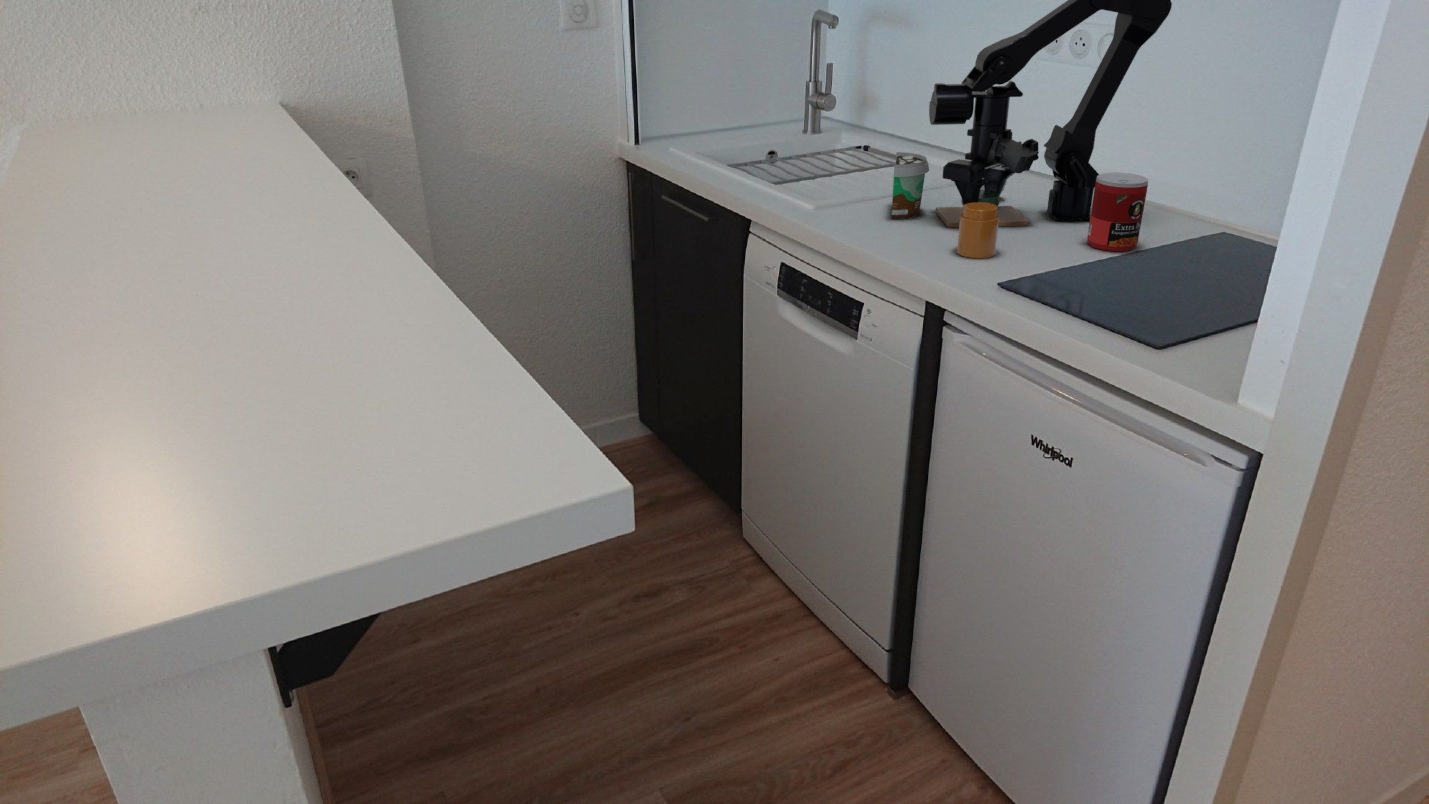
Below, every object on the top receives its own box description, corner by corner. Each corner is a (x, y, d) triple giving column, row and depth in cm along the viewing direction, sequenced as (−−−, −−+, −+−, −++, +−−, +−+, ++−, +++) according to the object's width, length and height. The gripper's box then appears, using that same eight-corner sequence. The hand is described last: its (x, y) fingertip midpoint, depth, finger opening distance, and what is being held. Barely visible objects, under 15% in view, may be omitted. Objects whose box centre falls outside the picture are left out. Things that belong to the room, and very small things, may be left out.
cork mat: (1010, 210, 177) (1011, 205, 177) (1027, 225, 167) (1028, 221, 167) (935, 211, 177) (935, 207, 177) (948, 227, 167) (948, 222, 167)
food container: (925, 222, 171) (930, 165, 167) (891, 220, 172) (894, 165, 168) (926, 205, 182) (930, 151, 177) (893, 204, 183) (896, 151, 179)
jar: (990, 247, 156) (995, 201, 153) (999, 257, 151) (1004, 210, 148) (953, 247, 156) (957, 201, 153) (961, 258, 151) (965, 211, 148)
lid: (965, 209, 169) (966, 198, 168) (958, 200, 174) (959, 190, 174) (1002, 208, 168) (1004, 198, 168) (993, 199, 174) (994, 189, 173)
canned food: (1111, 254, 151) (1123, 185, 146) (1075, 241, 158) (1085, 175, 153) (1148, 248, 154) (1160, 179, 149) (1111, 236, 160) (1122, 170, 156)
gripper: (1003, 136, 154) (993, 231, 161) (1059, 121, 166) (1048, 209, 172) (944, 129, 161) (937, 219, 168) (1002, 114, 173) (993, 200, 180)
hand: (981, 212), depth 172 cm, fingers closed on lid, 6 cm apart
